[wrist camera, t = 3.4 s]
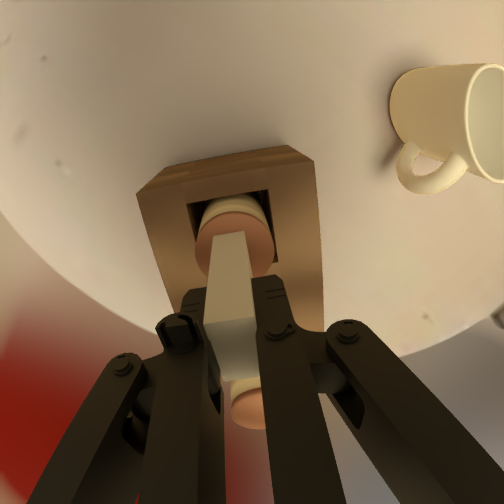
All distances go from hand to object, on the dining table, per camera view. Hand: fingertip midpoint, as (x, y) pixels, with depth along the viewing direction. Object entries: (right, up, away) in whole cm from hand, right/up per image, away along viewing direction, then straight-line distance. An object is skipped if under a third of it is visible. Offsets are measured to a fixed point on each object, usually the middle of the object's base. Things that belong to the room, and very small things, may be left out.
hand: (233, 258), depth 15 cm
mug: (+15, +12, +7) cm, 21 cm away
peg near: (-1, +4, +7) cm, 8 cm away
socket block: (0, +1, +11) cm, 12 cm away
